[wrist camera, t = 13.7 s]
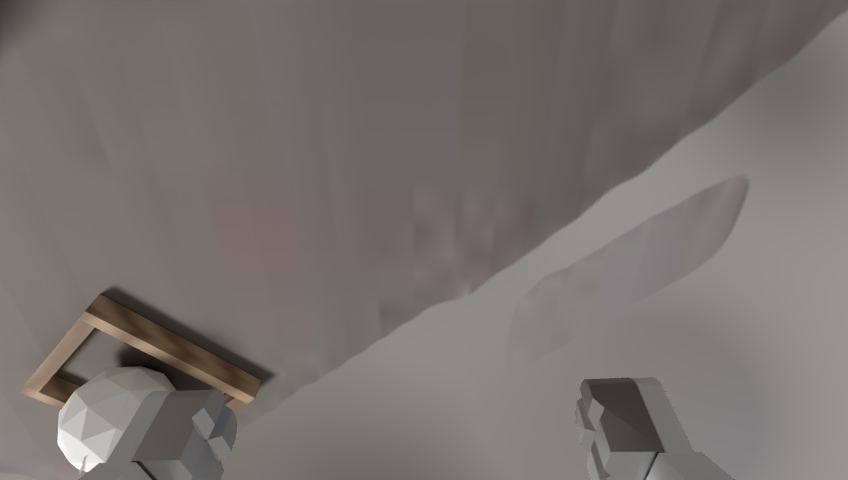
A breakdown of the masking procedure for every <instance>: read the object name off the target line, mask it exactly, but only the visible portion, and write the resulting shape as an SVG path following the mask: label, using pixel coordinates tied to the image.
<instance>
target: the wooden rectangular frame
mask: <svg viewBox="0 0 848 480" xmlns="http://www.w3.org/2000/svg"><path fill="white" fill-rule="evenodd" d="M94 328H97V329H99V330H101V331H103V332H105V333H107V334H109V335H111V336H113V337H115V338H117V339H119V340H121V341H123V342H125V343H127V344H129V345H131V346H133V347H135V348H137V349H139V350H141V351H143V352H145V353H147V354H149V355H151V356H153V357H155V358H157V359H159V360H161V361H163V362H165V363H167V364H169V365H171V366H173V367H175V368H177V369H179V370H181V371H183V372H185V373H187V374H189V375H191V376H193V377H195V378H197V379H199V380H201V381H203V382H205V383H207V384H209V385H211V386H213V387H215V388H217V389H219V390H221V391H223V392H225V394H223V395H224V396H225V398H226V399H225V402H224V404H223V405H225V406H227V407H228V408H230V409H232V410H233V412H234V413H235V412H236V411H238V410H239V409H241V408H242V407H243V406H245V405H246V404H248V403H249V402H250V401H252V400H253V399H255V397H256V394H257V391H258V389H259V386H260V383H261V381H262V380H260V379H258V378H256V377H254V376H252V375H251V374H249V373H247V372H245V371H243V370H241V369H239V368H237V367H236V366H234V365H232V364H230V363H228V362H226V361H224V360H223V359H221V358H219V357H217V356H215V355H213V354H211V353H209V352H208V351H206V350H204V349H202V348H200V347H198V346H196V345H194V344H193V343H191V342H189V341H187V340H185V339H183V338H181V337H180V336H178V335H176V334H174V333H172V332H170V331H168V330H166V329H165V328H163V327H161V326H159V325H157V324H155V323H153V322H152V321H150V320H148V319H146V318H144V317H142V316H140V315H138V314H137V313H135V312H133V311H131V310H129V309H127V308H125V307H124V306H122V305H120V304H118V303H116V302H114V301H112V300H110V299H109V298H107V297H105V296H103V295H101V294H100V295H99V296H98V297H97V298H96V299H95V300H94V301H93V303H92V304H91V305H90V306H89V307H88V308H87V309H86V311H85V312H84V313H83V314H82V315H81V317H80V318H79V319H78V320H77V322H76V323H75V324H74V325H73V326H72V328H71V329H70V330H69V331H68V332H67V334H66V335H65V336H64V337H63V339H62V340H61V341H60V342H59V343H58V345H57V346H56V347H55V348H54V350H53V351H52V352H51V353H50V354H49V356H48V357H47V358H46V359H45V361H44V362H43V363H42V364H41V365H40V367H39V368H38V369H37V370H36V371H35V373H34V374H33V375H32V376H31V378H30V379H29V380H28V381H27V382H26V384H25V385H24V386H23V387H22V389H21V390H20V391H19V392H21V393H23V394H26V395H28V396H31V397H33V398H35V399H38V400H40V401H43V402H45V403H48V404H50V405H52V406H55V407H57V408H60V409H62V408H63V406H64V405H65V404H66V402H67V401H68V399H69V398H70V397H71V395H72V394H73V392H74V391H75V390H77V389H78V388H80V386H78V385H75V384H73V383H71V382H69V381H66V380H64V379H62V378H59V377H57V376H55V375H54V374H55V373H56V372H57V370H58V369H59V368H60V367H61V366H62V365H63V364H64V362H65V361H66V360H67V359H68V358H69V357H70V355H71V354H72V353H73V352H74V351H75V350H76V349H77V347H78V346H79V345H80V344H81V343H82V342H83V340H84V339H85V338H86V337H87V336H88V335H89V334H90V332H91V331H92V330H93V329H94Z"/></svg>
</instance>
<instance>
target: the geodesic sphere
mask: <svg viewBox="0 0 848 480" xmlns="http://www.w3.org/2000/svg"><path fill="white" fill-rule="evenodd" d="M175 390H176V389H175V388H174V387H173V385H172V384H171V382H170V381H169V380H168V378H167V377H166V376H165V374H164V373H161V372H157V371H154V370H151V369H148V368H145V367H142V366H136V367H119V368H107V369H105V370H104V371H102V372H101V373H99V374H98V375H97V376H95V377H94V378H92V379H91V380H89V381H88V382H87V383H85V384H84V385H82V386H81V387H80V388H78V389H77V390H75V391H74V392H73V394H72V395H71V397H70V398H69V399H68V401H67V402H66V404H65V405H64V406H63V408H62V409H61V410H60V412H59V425H58V446H59V447H60V449H61V450H62V452H63V453H64V455H65V456H66V458H67V459H68V461H69V462H70V463H71V464H72V465H74V466H75V467H76V468H78V469H80V470H81V471H80V470H79V471H80V472H79V474H80V473H81V472H82V471H86V472H89V471H90V470H91V469H92V468H94V467H95V466H96V465H97V464H98V463H106V461H107V460H108V458H109V456H110V455H111V453H112V451H113V450H114V448H115V446H116V445H117V443H118V441H119V440H120V438H121V436H122V435H123V433H124V431H125V430H126V428H127V426H128V425H129V423H130V421H131V420H132V418H133V416H134V415H135V413H136V411H137V410H138V408H139V406H140V405H141V403H142V401H143V400H144V398H145V397H146V396H147V395H149V394H150V393H151V392H152V391H175ZM79 474H78V475H79Z"/></svg>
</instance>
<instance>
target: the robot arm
mask: <svg viewBox="0 0 848 480" xmlns="http://www.w3.org/2000/svg"><path fill="white" fill-rule="evenodd" d="M580 392H581V395H582V398H581V399H579V400H578V401H577V404H576V410H575V414H576V427H577V432H578V436H579V440H580V444H581V445H582V446H583V447H584V448H585V449H586V450H587V451H588V452H589V456H588V460H587V464H586V466H587V469H588V473H589V476H590V480H735V479H733V478H732V477H731V476H730V475H728V474H727V473H726V472H725V471H724V470H723V469H721V468H720V467H719V466H718V465H717V464H715V463H714V462H713V461H711V459H709V458H708V457H707V456H706V455H705V454H703V453H702V452H694V450H693V448H692V446H691V444H690V442H689V440H688V438H687V436H686V434H685V432H684V430H683V428H682V426H681V424H680V422H679V420H678V417H677V416H676V413H675V412H674V409H673V407H672V405H671V403H670V401H669V399H668V397H667V395H666V393H665V391H664V389H663V387H662V385H661V383H660V382H659V381H658V380H657V379H656V378H653V377H648V378H609V379H589V380H588V379H587V380H583V381H582V382H581V387H580ZM225 399H226V398H225V396H224V395H223V393H222V392H221V390H193V391H176V390H175V391H152V392H151V393H150V394H149V395H147V396H146V397H145V398H144V400H143V401H142V403H141V405H140V406H139V408H138V410H137V411H136V413H135V415H134V416H133V418H132V420H131V421H130V423H129V425H128V426H127V428H126V430H125V431H124V433H123V435H122V436H121V438H120V440H119V441H118V443H117V445H116V446H115V448H114V450H113V451H112V453H111V455H110V456H109V458H108V460H107V461H106V463H98V464H97V465H96V466H95V467H94V468H92V469H91V470H90V471H89V472H87V473H86V474H85V475H84V476H82V477H81V478H80V479H79V480H221V477H222V474H223V472H224V469H223V466H222V463H221V460H222V459H223V458H224V457H225V456H226V455H228V454H229V453H230V452H231V450H232V448H233V445H234V442H235V439H236V432H237V420H236V416H235V414H234V412H233V410H232V409H230V408H228V407H227V406H225V405H223V404H224V402H225Z"/></svg>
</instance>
